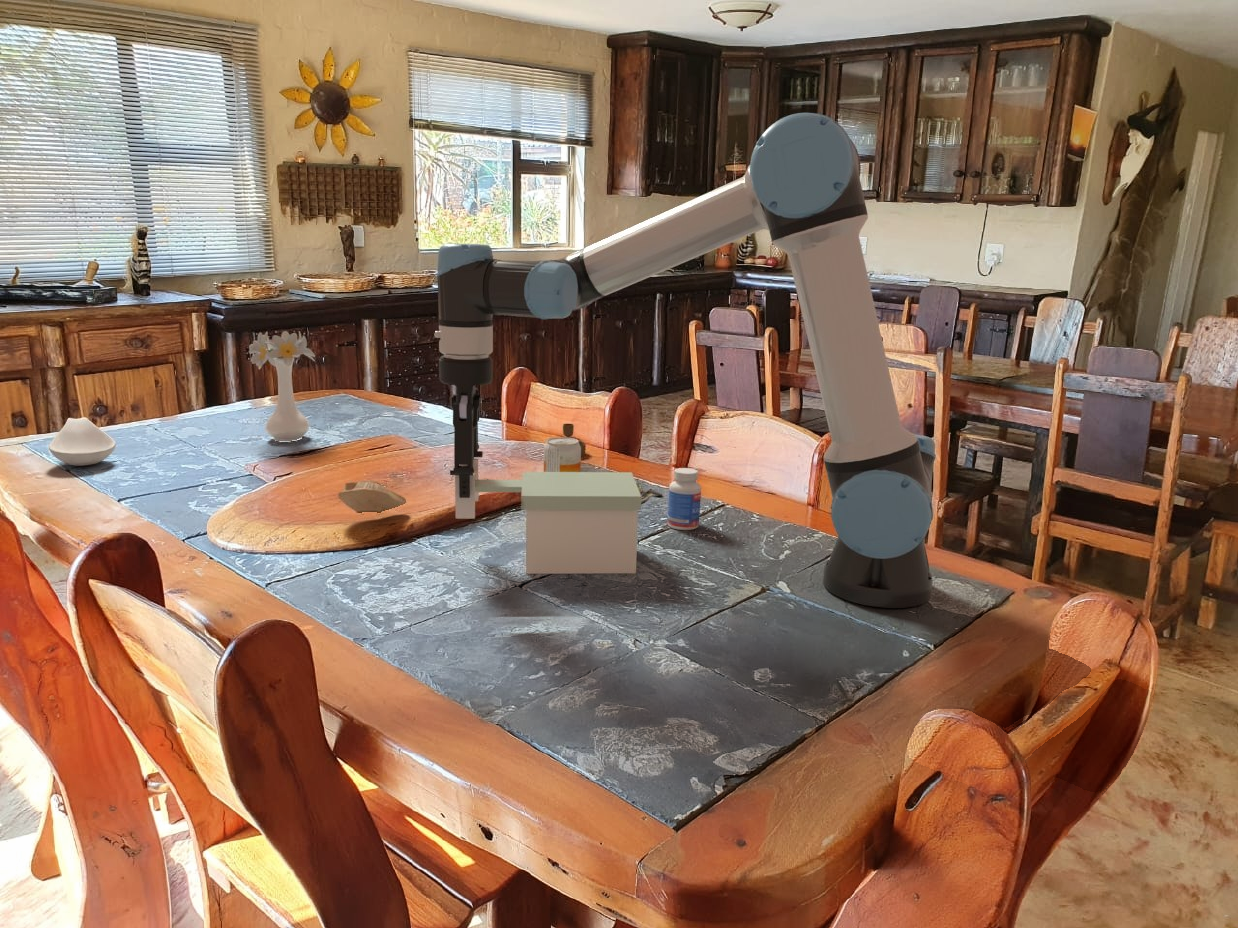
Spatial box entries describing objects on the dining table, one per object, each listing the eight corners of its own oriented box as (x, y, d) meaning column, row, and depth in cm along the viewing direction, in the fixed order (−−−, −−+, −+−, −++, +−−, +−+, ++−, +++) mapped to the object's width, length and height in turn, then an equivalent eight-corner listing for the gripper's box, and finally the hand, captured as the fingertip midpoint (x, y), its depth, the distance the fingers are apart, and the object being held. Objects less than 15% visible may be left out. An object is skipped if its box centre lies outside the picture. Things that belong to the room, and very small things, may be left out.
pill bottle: (697, 532, 154) (700, 476, 151) (665, 529, 155) (667, 473, 152) (700, 522, 159) (703, 468, 157) (670, 519, 160) (672, 465, 158)
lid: (631, 484, 144) (632, 460, 143) (640, 509, 131) (641, 482, 130) (462, 483, 142) (462, 458, 141) (455, 509, 129) (454, 481, 128)
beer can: (585, 525, 155) (587, 439, 152) (568, 535, 150) (570, 446, 146) (554, 520, 158) (555, 435, 154) (536, 530, 152) (537, 441, 149)
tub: (627, 545, 146) (630, 479, 143) (635, 573, 134) (638, 501, 132) (526, 546, 144) (527, 478, 142) (525, 573, 133) (526, 500, 130)
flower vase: (285, 430, 220) (279, 325, 213) (334, 442, 209) (329, 332, 203) (235, 439, 209) (227, 328, 203) (284, 452, 199) (277, 336, 193)
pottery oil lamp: (421, 515, 158) (420, 476, 156) (359, 530, 150) (357, 488, 148) (392, 504, 164) (391, 466, 162) (331, 517, 155) (329, 477, 154)
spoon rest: (121, 465, 185) (117, 430, 183) (53, 472, 179) (48, 436, 177) (107, 442, 204) (103, 410, 202) (45, 447, 197) (41, 414, 196)
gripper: (445, 345, 140) (448, 489, 146) (431, 365, 120) (434, 531, 125) (495, 346, 141) (495, 489, 146) (489, 366, 121) (489, 531, 126)
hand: (467, 508), depth 136 cm, fingers open, 8 cm apart
